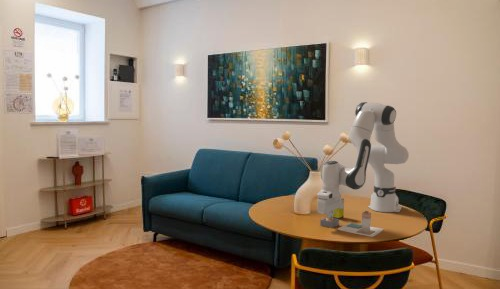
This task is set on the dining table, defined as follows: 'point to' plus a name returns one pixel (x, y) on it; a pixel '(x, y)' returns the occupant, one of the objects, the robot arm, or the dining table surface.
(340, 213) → the supplement box
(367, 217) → the cylinder
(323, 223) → the button housing
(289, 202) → the dining table surface
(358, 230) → the picture sheet
